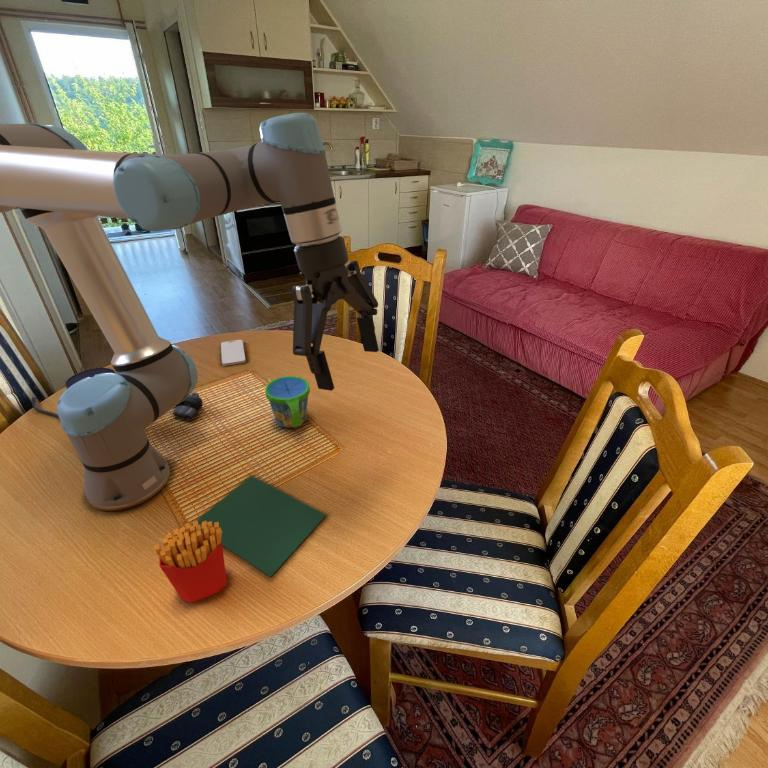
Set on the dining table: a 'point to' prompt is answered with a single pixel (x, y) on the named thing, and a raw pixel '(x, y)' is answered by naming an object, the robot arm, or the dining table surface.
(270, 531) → the green cloth
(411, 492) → the dining table surface
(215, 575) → the french fries
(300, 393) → the snack cup
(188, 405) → the can opener
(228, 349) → the smartphone
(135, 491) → the robot arm
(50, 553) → the dining table surface
